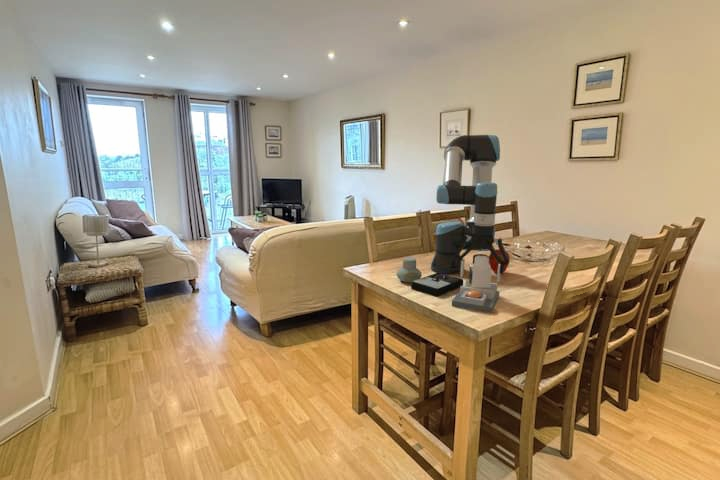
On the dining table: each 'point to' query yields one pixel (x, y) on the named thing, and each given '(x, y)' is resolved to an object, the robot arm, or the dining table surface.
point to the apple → (495, 263)
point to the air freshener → (409, 271)
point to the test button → (474, 294)
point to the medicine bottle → (480, 272)
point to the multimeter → (437, 284)
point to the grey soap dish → (483, 304)
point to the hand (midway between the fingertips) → (479, 278)
